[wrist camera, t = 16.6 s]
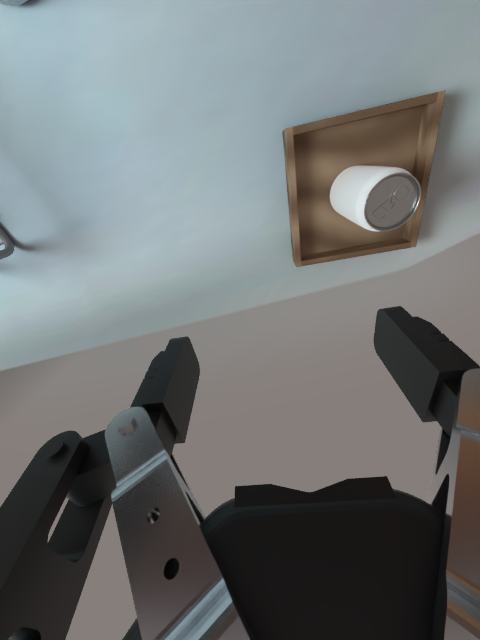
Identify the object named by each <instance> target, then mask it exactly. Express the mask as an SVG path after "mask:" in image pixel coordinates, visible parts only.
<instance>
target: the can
mask: <svg viewBox="0 0 480 640" xmlns="http://www.w3.org/2000/svg"><path fill="white" fill-rule="evenodd" d="M420 199H421V187H420V184H419V182H418V180H417V179H416V178H415V177H414V176H413V175H411V174H410V173H409V172H408V171H407V170H405V169H402V168H398V167H386V166H364V165H357V166H352V167H349V168H347V169H345V170H344V171H342V172H341V173H340V174H339V175H338V176H337V178H336V179H335V180H334V182H333V184H332V187H331V190H330V202H331V205H332V207H333V209H334V210H335V211H336V212H337V213H339V214H340V215H342V216H344V217H345V218H347V219H349V220H350V221H352V222H354V223H356V224H357V225H359V226H361V227H363V228H365V229H367V230H370V231H390V230H393V229H396V228H398V227H400V226H402V225H403V224H404V223H406V222H407V221H408V220H409V219H410V218H411V217H412V216H413V214H414V213H415V211H416V210H417V208H418V205H419V203H420Z"/></svg>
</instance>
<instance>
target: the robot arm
mask: <svg viewBox="0 0 480 640" xmlns="http://www.w3.org/2000/svg"><path fill="white" fill-rule="evenodd" d="M26 1H28V0H0V3H1V4H4V5H10V6H15V5H21V4H23V3H24V2H26ZM374 347H375V350H376V353H377V354H378V356H379V357H380V359H381V360H382V362H383V363H384V365H385V366H386V368H387V369H388V371H389V372H390V374H391V375H392V377H393V378H394V380H395V381H396V383H397V384H398V386H399V387H400V389H401V390H402V392H403V393H404V395H405V396H406V397H407V399H408V401H409V402H410V404H411V405H412V407H413V408H414V410H415V411H416V413H417V414H418V415H419V417H420V419H421V420H422V421H423V422H432V421H438V423H439V424H440V426H441V427H442V428H441V430H440V434H439V440H438V446H437V451H436V458H435V463H434V470H433V475H432V481H431V485H430V489H429V492H428V495H427V499H426V502H425V501H423V500H421V499H420V498H417V497H415V496H413V495H410V494H408V493H405V492H402V491H399V490H395V489H392V487H391V485H390V482H389V480H388V478H387V476H385V477H371V478H355V479H346V480H344V481H341V482H338V483H336V484H333V485H330V486H328V487H325V488H322V489H320V490H317V491H315V492H303V491H299V490H294V489H290V488H286V487H281V486H276V485H272V484H264V485H250V486H236V487H235V498H234V499H231V500H229V501H227V502H225V503H223V504H222V505H220V506H219V507H218V508H216V509H215V510H214V511H213V512H211V513H210V514H209V515H208V516H207V517H205V515H204V513H203V511H202V510H201V508H200V506H199V504H198V503H197V501H196V499H195V497H194V495H193V493H192V491H191V489H190V487H189V485H188V483H187V481H186V479H185V477H184V475H183V473H182V471H181V469H180V467H179V465H178V463H177V461H176V460H175V458H174V455H173V454H172V451H173V447H174V444H176V443H185V439H186V435H187V430H188V425H189V421H190V416H191V412H192V407H193V402H194V398H195V394H196V389H197V384H198V380H199V374H200V368H199V362H198V360H197V357H196V354H195V352H194V349H193V347H192V344H191V341H190V339H189V338H188V337H180V338H173V339H170V341H169V343H168V345H167V347H166V350H165V351H161V352H160V353H159V354H158V355H157V356H156V357H155V358H154V359H153V360H152V362H151V364H150V366H149V369H148V371H147V373H146V375H145V379H143V381H142V383H141V386H140V388H139V390H138V392H137V394H136V396H135V398H134V400H133V403H132V405H131V407H130V408H128V409H125V410H123V411H122V412H120V413H119V414H117V415H116V416H115V417H114V418H113V419H112V420H111V421H110V423H109V424H108V426H107V428H106V430H103V431H100V432H98V433H95V434H93V435H90V436H88V437H85V438H82V437H81V436H80V435H79V434H78V433H77V432H75V431H66V432H63V433H60V434H58V435H56V436H55V437H53V438H52V439H50V440H49V441H48V442H47V443H46V444H44V445H43V446H42V447H41V448H40V449H39V451H38V452H37V453H36V455H35V456H34V458H33V459H32V461H31V463H30V464H29V465H28V467H27V468H26V470H25V471H24V473H23V474H22V476H21V478H20V479H19V480H18V482H17V483H16V485H15V486H14V488H13V489H12V491H11V492H10V494H9V495H8V497H7V498H6V500H5V501H4V503H3V504H2V506H1V507H0V640H65V638H66V636H67V633H68V630H69V627H70V624H71V621H72V618H73V615H74V613H75V610H76V607H77V604H78V601H79V598H80V595H81V592H82V589H83V587H84V583H85V580H86V578H87V575H88V572H89V569H90V566H91V563H92V560H93V557H94V554H95V552H96V549H97V546H98V543H99V540H100V537H101V534H102V531H103V528H104V526H105V522H106V520H107V517H108V514H109V511H110V508H111V505H112V504H113V508H114V513H115V517H116V522H117V527H118V531H119V536H120V541H121V545H122V550H123V554H124V559H125V564H126V568H127V573H128V577H129V582H130V586H131V591H132V595H133V600H134V605H135V609H136V614H137V619H136V620H135V622H134V623H133V625H132V626H131V628H130V629H129V630H128V632H127V633H126V635H125V637H124V638H123V639H122V640H480V366H479V365H478V364H477V363H475V362H474V361H473V360H472V359H471V358H470V357H469V356H468V355H467V354H465V353H464V352H463V351H462V350H461V349H460V348H459V347H458V346H456V345H455V344H454V343H453V342H452V341H449V339H448V338H447V337H446V336H445V335H444V334H441V332H440V331H439V330H438V329H437V328H436V327H435V326H434V325H433V324H432V323H430V322H427V321H426V320H423V319H421V318H419V317H412V316H411V315H410V314H409V313H408V312H407V311H406V310H404V308H402V307H401V306H398V307H391V308H384V309H379V310H378V312H377V317H376V325H375V333H374ZM66 497H67V498H68V499H69V500H68V503H67V505H66V507H65V509H64V511H63V513H62V515H61V517H60V519H59V521H58V524H57V526H56V528H55V530H54V532H53V534H52V536H51V538H50V540H49V542H48V543H47V540H48V534H49V531H50V528H51V526H52V524H53V522H54V520H55V518H56V516H57V514H58V512H59V510H60V507H61V506H62V504H63V502H64V500H65V498H66Z"/></svg>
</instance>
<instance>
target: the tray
mask: <svg viewBox="0 0 480 640" xmlns="http://www.w3.org/2000/svg"><path fill="white" fill-rule="evenodd" d="M445 92H446V90H445V91H441V92H436V93H432V94H428V95H424V96H420V97H415V98H411V99H407V100H403V101H399V102H395V103H390V104H386V105H382V106H378V107H374V108H370V109H365V110H361V111H357V112H353V113H349V114H345V115H340V116H336V117H332V118H328V119H324V120H320V121H315V122H311V123H307V124H303V125H299V126H295V127H290V128H286V129H285V130H284V131H283V142H284V154H285V167H286V179H287V192H288V204H289V217H290V229H291V242H292V254H293V261H294V263H295V265H296V267H299V266H305V265H311V264H317V263H323V262H329V261H335V260H340V259H346V258H352V257H358V256H364V255H370V254H376V253H381V252H387V251H393V250H399V249H405V248H411V247H416V244H417V239H418V234H419V228H420V223H421V218H422V213H423V207H424V202H425V197H426V192H427V186H428V181H429V176H430V171H431V165H432V160H433V155H434V150H435V144H436V139H437V134H438V129H439V123H440V118H441V113H442V108H443V102H444V97H445ZM357 165H364V166H386V167H398V168H402V169H405V170H407V171H408V172H409V173H410V174H411V175H413V176H414V177H415V178H416V179H417V180H418V182H419V184H420V187H421V199H420V203H419V205H418V208H417V210H416V211H415V213H414V214H413V216H412V217H411V218H410V219H409V220H408V221H407V222H406V223H404V224H403V225H402V226H400V227H398V228H396V229H393V230H390V231H370V230H367V229H365V228H363V227H361V226H359V225H357V224H356V223H354V222H352V221H350V220H349V219H347V218H345V217H344V216H342V215H340V214H339V213H337V212H336V211H335V210H334V209H333V207H332V205H331V202H330V190H331V187H332V184H333V182H334V180H335V179H336V178H337V176H338V175H339V174H340V173H341V172H342V171H344V170H345V169H347V168H349V167H352V166H357Z"/></svg>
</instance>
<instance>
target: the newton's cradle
mask: <svg viewBox="0 0 480 640" xmlns="http://www.w3.org/2000/svg"><path fill="white" fill-rule="evenodd" d="M0 239H1V241H0V244H1V243H4V244H5V249H4V250H1V251H0V259H3V258H5V257H7V256H10V255H11V254H12V253H13V251H14V245H13V242H12V241H11V239H10V238H9V237H8V236H7V234H6V233H5V232H4V231H3V230H2V229H1V228H0Z"/></svg>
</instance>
